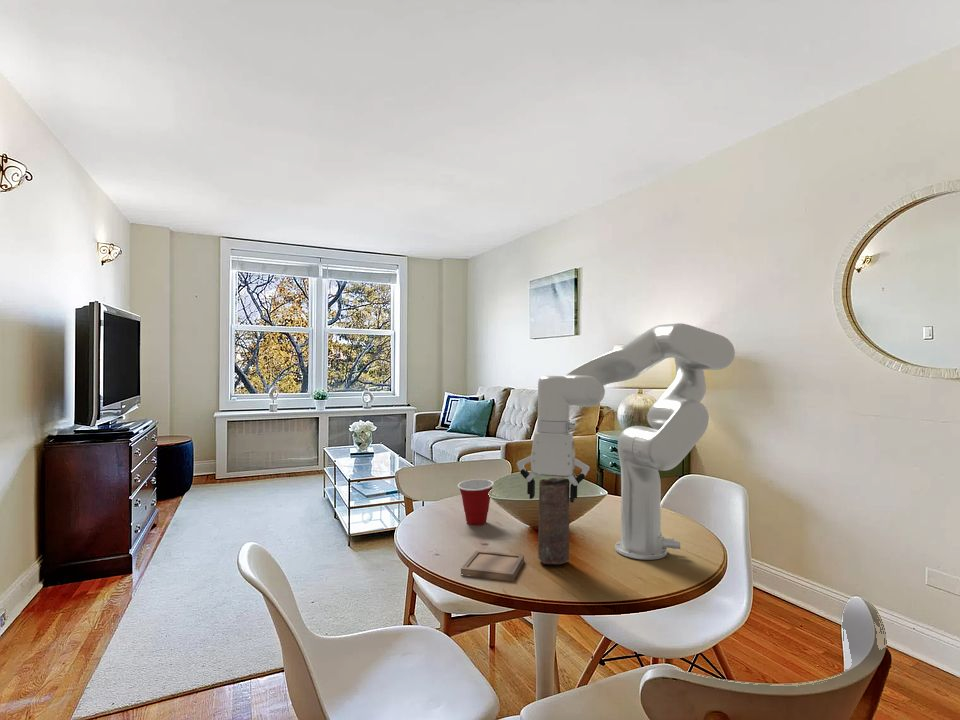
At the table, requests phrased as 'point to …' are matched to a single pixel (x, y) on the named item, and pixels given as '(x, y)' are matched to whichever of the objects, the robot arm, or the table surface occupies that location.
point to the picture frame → (493, 565)
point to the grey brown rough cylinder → (553, 521)
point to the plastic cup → (476, 500)
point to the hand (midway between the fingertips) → (552, 499)
